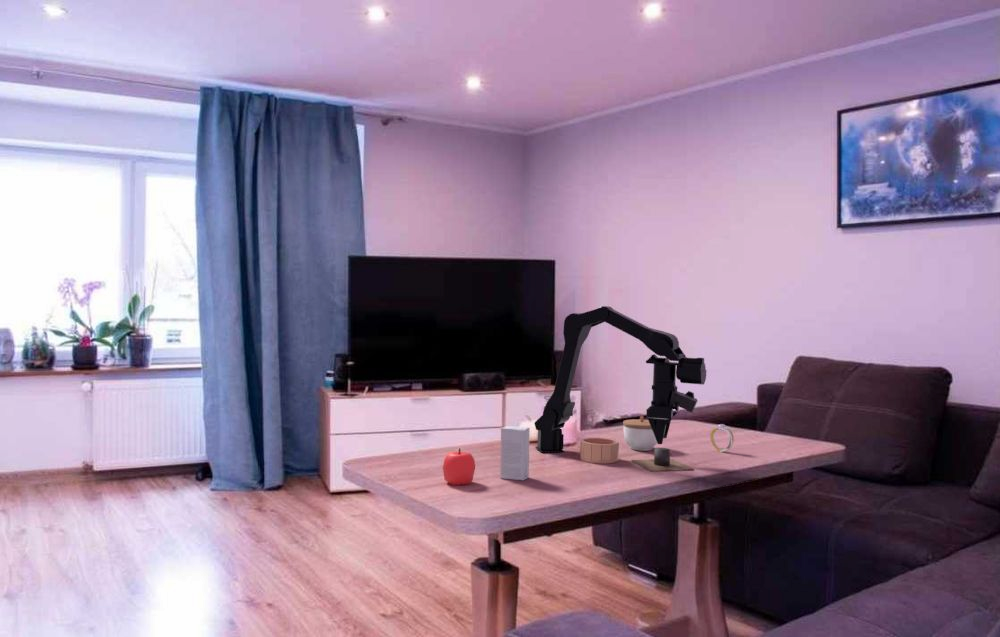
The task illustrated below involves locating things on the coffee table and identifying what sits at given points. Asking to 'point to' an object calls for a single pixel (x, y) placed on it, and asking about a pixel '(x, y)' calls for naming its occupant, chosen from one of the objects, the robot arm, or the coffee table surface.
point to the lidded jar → (639, 434)
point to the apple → (459, 467)
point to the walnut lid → (662, 462)
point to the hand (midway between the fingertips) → (662, 441)
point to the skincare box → (514, 453)
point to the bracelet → (731, 437)
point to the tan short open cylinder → (599, 450)
